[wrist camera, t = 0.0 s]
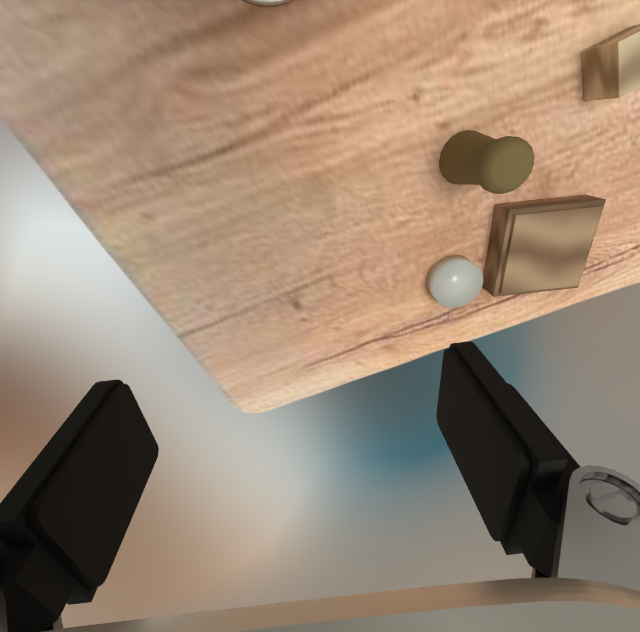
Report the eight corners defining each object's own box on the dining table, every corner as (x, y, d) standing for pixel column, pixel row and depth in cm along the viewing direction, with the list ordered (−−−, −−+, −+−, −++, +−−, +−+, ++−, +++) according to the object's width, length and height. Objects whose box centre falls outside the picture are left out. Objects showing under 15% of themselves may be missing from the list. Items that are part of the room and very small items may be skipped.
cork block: (580, 52, 37) (618, 41, 32) (628, 27, 36) (673, 13, 32) (583, 101, 39) (618, 97, 35) (628, 79, 38) (670, 72, 34)
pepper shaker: (496, 159, 42) (556, 169, 32) (455, 194, 43) (499, 213, 34) (472, 118, 39) (529, 115, 30) (429, 156, 41) (470, 165, 31)
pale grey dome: (427, 257, 48) (435, 264, 45) (476, 252, 48) (486, 259, 45) (424, 300, 51) (431, 310, 48) (470, 296, 51) (479, 305, 49)
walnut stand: (495, 204, 44) (512, 210, 41) (585, 194, 44) (609, 200, 41) (481, 286, 50) (495, 298, 47) (561, 278, 50) (580, 289, 47)
